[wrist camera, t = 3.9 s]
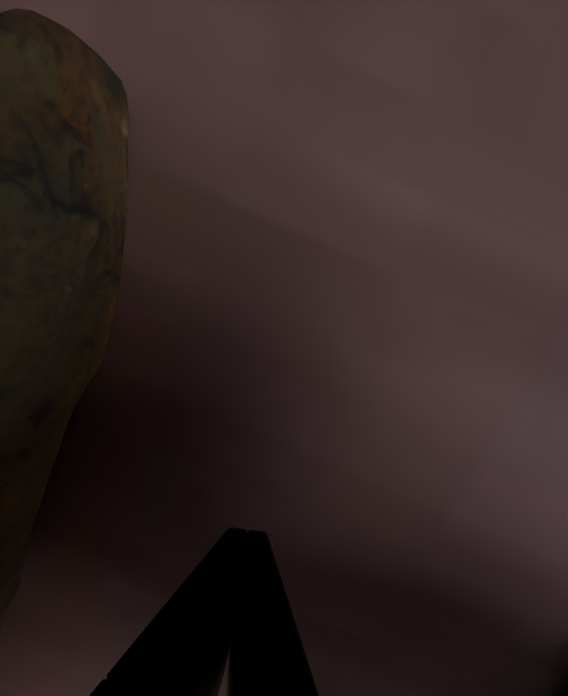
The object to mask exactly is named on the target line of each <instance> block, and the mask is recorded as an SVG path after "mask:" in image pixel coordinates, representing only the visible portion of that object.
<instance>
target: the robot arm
mask: <svg viewBox="0 0 568 696" xmlns="http://www.w3.org/2000/svg"><path fill="white" fill-rule="evenodd" d="M230 644H231V648H230ZM229 650H230V658H229V670H228V685H227V696H319V695H318V692H317V689H316V686H315V683H314V680H313V676H312V673H311V670H310V667H309V664H308V661H307V658H306V654H305V651H304V648H303V645H302V642H301V639H300V636H299V632H298V629H297V626H296V623H295V620H294V617H293V614H292V611H291V607H290V604H289V601H288V598H287V595H286V592H285V589H284V585H283V582H282V579H281V576H280V573H279V570H278V567H277V563H276V560H275V557H274V554H273V551H272V548H271V545H270V541H269V538H268V535H267V534H266V533H265V532H262V531H255V530H249V531H248V533H247V531H246V530H245V529H240V528H233V527H230V528H228V529H227V530H226V531H225V533H224V534H223V535H222V536H221V538H220V539H219V540H218V541H217V542H216V544H215V545H214V546H213V547H212V548H211V550H210V551H209V552H208V553H207V554H206V556H205V557H204V558H203V559H202V560H201V562H200V563H199V564H198V565H197V567H196V568H195V569H194V570H193V571H192V573H191V574H190V575H189V576H188V577H187V579H186V580H185V581H184V582H183V583H182V585H181V586H180V587H179V588H178V589H177V591H176V592H175V593H174V594H173V596H172V597H171V598H170V599H169V600H168V602H167V603H166V604H165V605H164V606H163V608H162V609H161V610H160V611H159V612H158V614H157V615H156V616H155V617H154V618H153V620H152V621H151V622H150V623H149V624H148V626H147V627H146V628H145V629H144V631H143V632H142V633H141V634H140V635H139V637H138V638H137V639H136V640H135V641H134V643H133V644H132V645H131V646H130V647H129V649H128V650H127V651H126V652H125V653H124V655H123V656H122V657H121V658H120V660H119V661H118V662H117V663H116V664H115V666H114V667H113V668H112V669H111V670H110V672H109V673H108V674H107V680H106V679H103V680H102V681H101V682H100V683H99V685H98V686H97V687H96V688H95V689H94V691H93V692H92V693H91V694H90V695H89V696H218V693H219V689H220V685H221V682H222V678H223V674H224V670H225V667H226V662H227V658H228V654H229ZM566 696H568V692H567V694H566Z"/></svg>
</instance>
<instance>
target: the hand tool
mask: <svg viewBox="0 0 568 696" xmlns="http://www.w3.org/2000/svg"><path fill="white" fill-rule="evenodd" d="M128 125H129V115H128V104H127V95H126V92H125V89H124V87H123V84H122V81H121V80H120V78H119V77H118V76H117V75H116V74H115V73H114V72H113V71H112V69H111V68H110V67H109V66H108V65H107V64H106V62H105V61H104V60H103V59H102V57H101V56H99V55H98V54H97V53H96V52H95V51H94V50H93V49H91V48H90V47H89V46H88V45H87V44H86V43H85V42H83V41H82V40H81V39H80V38H79V37H77V36H76V35H75V34H74V33H73V32H71V31H70V30H69V29H67V28H65V27H63V26H62V25H60V24H58V23H56V22H54V21H53V20H51V19H49V18H47V17H45V16H42V15H40V14H38V13H36V12H34V11H32V10H24V9H17V8H16V9H12V10H8V11H5V12H1V13H0V625H1V622H2V618H3V616H4V614H5V612H6V610H7V608H8V607H9V605H10V603H11V601H12V599H13V597H14V595H15V594H16V591H17V589H18V587H19V584H20V582H21V579H20V578H19V576H18V574H19V571H20V567H21V563H22V560H23V556H24V554H25V551H26V549H27V546H28V543H29V541H30V538H31V531H32V528H33V525H34V522H35V519H36V516H37V513H38V510H39V507H40V505H41V502H42V499H43V496H44V492H45V489H46V485H47V482H48V479H49V476H50V473H51V470H52V467H53V465H54V462H55V459H56V457H57V454H58V451H59V449H60V446H61V442H62V439H63V436H64V433H65V430H66V426H67V423H68V420H69V418H70V416H71V414H72V413H73V411H74V409H75V407H76V405H77V403H78V401H79V399H80V397H81V396H82V394H83V392H84V390H85V389H86V387H87V385H88V383H89V382H90V380H91V379H92V378H93V377H94V376H95V375H96V374H97V373H98V372H99V371H100V369H101V366H102V363H103V360H104V356H105V353H106V349H107V345H108V341H109V338H110V334H111V330H112V325H113V320H114V315H115V309H116V304H117V300H118V294H119V284H120V273H121V264H122V255H123V245H124V234H125V222H126V207H127V187H128Z"/></svg>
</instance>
